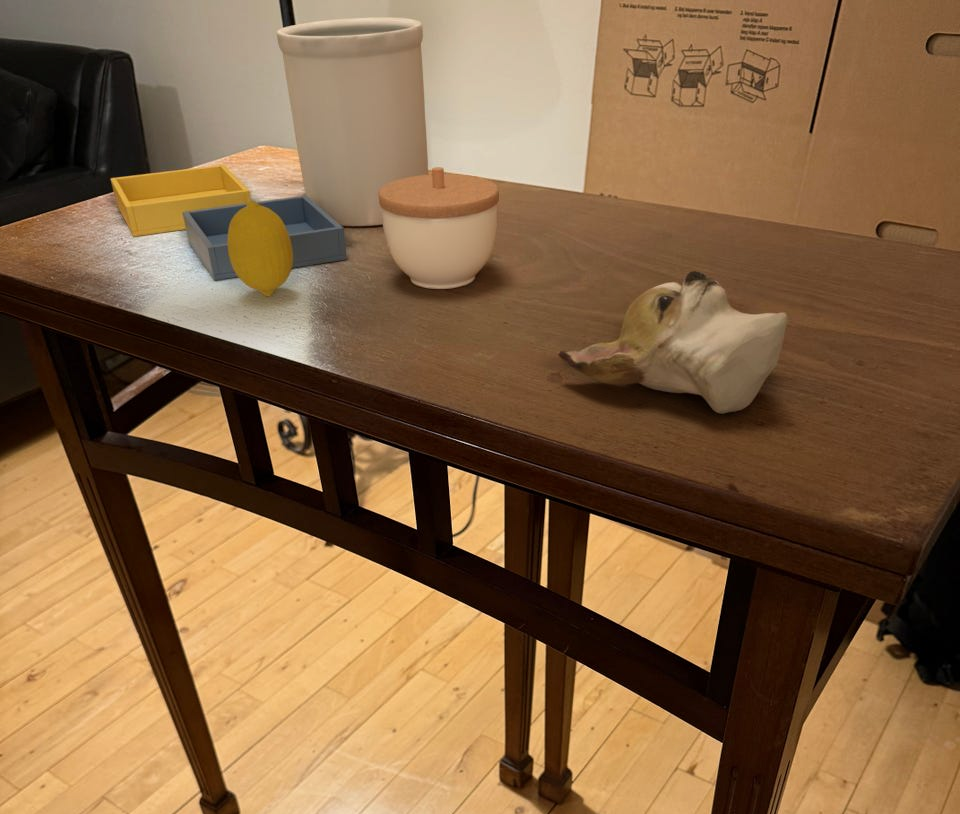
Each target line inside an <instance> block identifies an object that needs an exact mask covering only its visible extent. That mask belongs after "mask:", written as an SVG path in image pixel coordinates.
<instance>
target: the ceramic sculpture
mask: <svg viewBox="0 0 960 814" xmlns="http://www.w3.org/2000/svg"><path fill="white" fill-rule="evenodd" d="M788 322H789V319H788V315H787V313H786V312H778V313H775V312H766V313H758V314H757V313H756V314H751V313H745V312H741V311H739V310H737V309H735V308H733V307H732V306H731V305H730V303H729V300H728V297H727V292H726V290H725V289H724V287H722V286H721V284H720V283H719V282H718V281H717V280H716V279H715V278H711V277H710V276H707V274H705V273H703V272H700V271H695V270H694V271H693V270H691V271H690V272H688V274H687V275H686V276H685V279H684V281H683V282H682V284H681V283H680V282H679V283H678V282H676V281H671V282H665V283H662V284H659V285H656V286H654V287H652V288H649V289H647V290H645V291H644V292H643V293H641V294H640V295H639V296H637V297H636V298H635V299H634V300H633V301H632V302H631V303H630V305H629V306H628V307H627V309H626V311H625V314H624V316H623V319H622V325H621V330H620V335H619V337H618V339H616V340H614V341H610V342H599V343H594V344H591V345H589V346H586V347H585V348H582V349H580V350H560V351H557V355H558V357H559V358H560V359H561V360H562V361H563V362H565V363H566V364H567V365H569V366H570V367H571V368H573V369H574V370H576V371H577V372H579V373H581V374H582V375H584V376H586V377H588V378H591V379H592V380H594V381H596V382H598V383H602V384H606V385H617V386H618V385H634V384H640V386H643V387H646V388H649V389H651V390H655V391H660V392H665V393H666V392H667V393H673V394H685V393H686V394H692V395H699V396H701V397H702V398H703V399H704V400H705V401H706V403H707V404H708V405H709V407H710V408H711V409H712V411H714V412H715V413H717V414H723V415H724V414H726V413H732V412H733V413H735V412H738V411H742V410H744V409H745V408H747V407H748V406H750V404H752V402H753V401H754V399H755V398H756V396H757V395H758V394H759V391H760V390H761V388H762V386H763V385H764V382H765V381H766V379H767V378H768V377H769V376H770V374H771V373H772V372H773V370H774V369H775V368H776V367H777V365H778V361H779V357H780V354H781V351H782V347H783V343H784V338H785V334H786V330H787V329H786V328H787V325H788Z"/></svg>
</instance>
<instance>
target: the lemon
mask: <svg viewBox="0 0 960 814" xmlns="http://www.w3.org/2000/svg"><path fill="white" fill-rule="evenodd" d="M257 202H258V201H255V200H254V201H252V200H251V202H248V204H247V206H246V207H244V208H242V209H240V210H239V211H238V212H237V213H236V214H235V215H234V217H233V218H232V220H231V222H230V225H229V229H228V253H229V258H230V261H231V264H232V267H233V269H234V271H235V273H236V274H237V276H238V277H237V278H238V279H239V280H240V281H241V282H242V283H243V284H244V285H246V286H247V287H249V288H251V289H253V290H256V291H258V292H260V293H261V294H262V295H263V296H265V297H270V296H272V295H273V293H274V292H275V291H276V289H277V288H279V287H281V286H282V285H284V283H285V282H287V280H288V278H289V277H290V274H291V271H292V269H293V268H292V263H293V251H292V245H291V241H290V237H289V234H288V232H287V229H286V227H285V225H284V223H283V221H282V220H281V218H280V217H279V216H278V215H277V214H276V213H275V212H273V211H272V210H270V209H269V208H267V207H264V206H261V205H259V204H258V203H257Z"/></svg>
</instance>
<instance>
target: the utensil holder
mask: <svg viewBox="0 0 960 814" xmlns="http://www.w3.org/2000/svg"><path fill="white" fill-rule="evenodd" d="M276 38H277V44H278V47H279V49H280V51H281V52H282V58H283V66H284V72H285V79H286V85H287V92H288V98H289V104H290V111H291V117H292V122H293V130H294V135H295V143H296V149H297V154H298V160H299V161H298V162H299V166H300V171H301V177H302V182H303V187H304V194H305V195H306V196H308V197H309V198H310V199H311V200H312V201H313V202H314V203H316V204H317V205H318V206H319V207H320V208H321V209H322V210H324V211H325V212H326V213H327V214H328V215H329V216H331V217H332V218H333V219H334V220H335V221H336V222H337V223H339V224H340V225H341V226H342V227H371V226H381V225H382V226H383V223H382V214H381V206H380V203H379V195H378V193H379V191H380V189H381V188H382V187H383V186H384V185H386V184H388V183H390V182H393V181H396V180H399V179H403V178H407V177H412V176H420V175H429V158H428V140H427V124H426V108H425V107H426V105H425V103H426V102H425V87H424V86H425V84H424V73H423V72H424V71H423V70H424V69H423V57H422V54H423V53H422V42H423V39H424V30H423V23H422V22H421V21H420V20H417V19H412V18H407V17H406V18H405V17H354V18H353V17H352V18H351V17H350V18H349V17H348V18H337V19H327V20H319V21H311V22H305V23H299V24H294V25H289V26H285V27H281V28H279V29H278V30H277V31H276Z"/></svg>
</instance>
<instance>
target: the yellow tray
mask: <svg viewBox="0 0 960 814" xmlns="http://www.w3.org/2000/svg"><path fill="white" fill-rule="evenodd" d="M110 182H111V187H112V190H113V194H114V195H113V196H114V198H115V202H116V206H117V208H118V210H119V212H120V214H121V216H122V218H123V219H124V222H125V223H126V225H127V227H128V229H129V231H130V233H131V235H132V237H139V236H148V235H154V234H162V233H169V232H170V233H171V232H176V231H183V230H186V227H185V223H184V218H183V213H182V212H186V211H193V210H201V209H208V208H216V207H223V206H230V205H238V204H245V203H248V202H251V201H252V196H251V191H250V189H249V188H248V187H247V186H246V185H245V184H244V183H243V182H242V181H241V180H240V179H239V178H238V177H237V176H236V175H235V174H234V173H233V172H232V171H231V170H230V169H229V168H228V167H227V166H226V164H219V165H210V166H209V165H208V166H201V167H193V168H186V169H185V168H184V169H177V170H168V171H159V172H151V173H145V174H144V173H143V174H136V175H135V174H134V175H128V176H127V175H126V176H118V177H111V178H110Z"/></svg>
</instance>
